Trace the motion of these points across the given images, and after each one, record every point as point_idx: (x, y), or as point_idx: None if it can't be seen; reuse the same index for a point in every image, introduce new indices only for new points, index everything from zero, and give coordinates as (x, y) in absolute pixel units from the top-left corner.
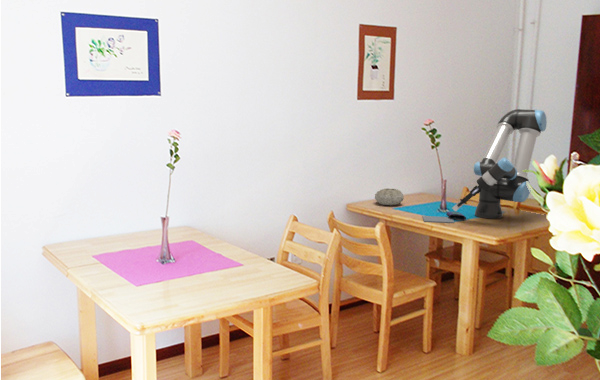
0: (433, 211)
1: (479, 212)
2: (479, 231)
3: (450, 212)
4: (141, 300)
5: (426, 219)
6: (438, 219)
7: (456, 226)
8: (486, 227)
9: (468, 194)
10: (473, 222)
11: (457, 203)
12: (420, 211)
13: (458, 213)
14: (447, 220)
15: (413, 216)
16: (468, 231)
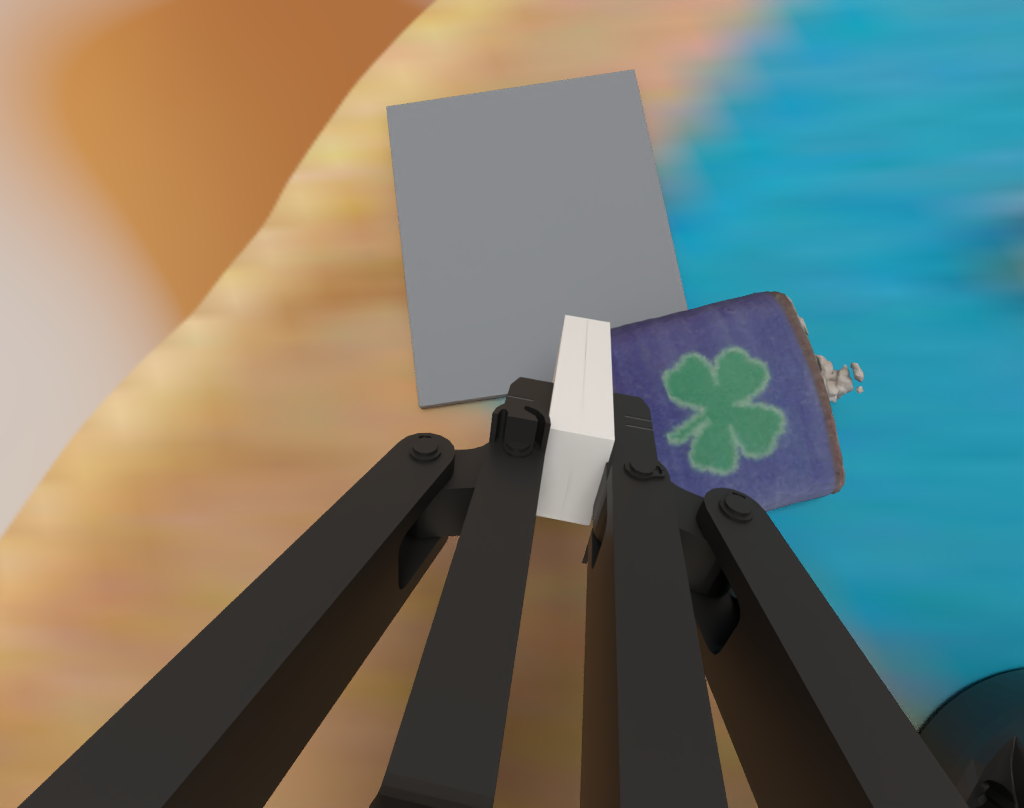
0: (1002, 159)
1: (997, 760)
2: (71, 697)
3: (741, 332)
4: None
5: (459, 120)
6: (505, 233)
7: (267, 434)
8: (308, 799)
9: (154, 687)
10: (552, 635)
11: (556, 377)
12: (922, 36)
13: (731, 438)
14: (487, 327)
15: (619, 2)
16: (48, 567)
